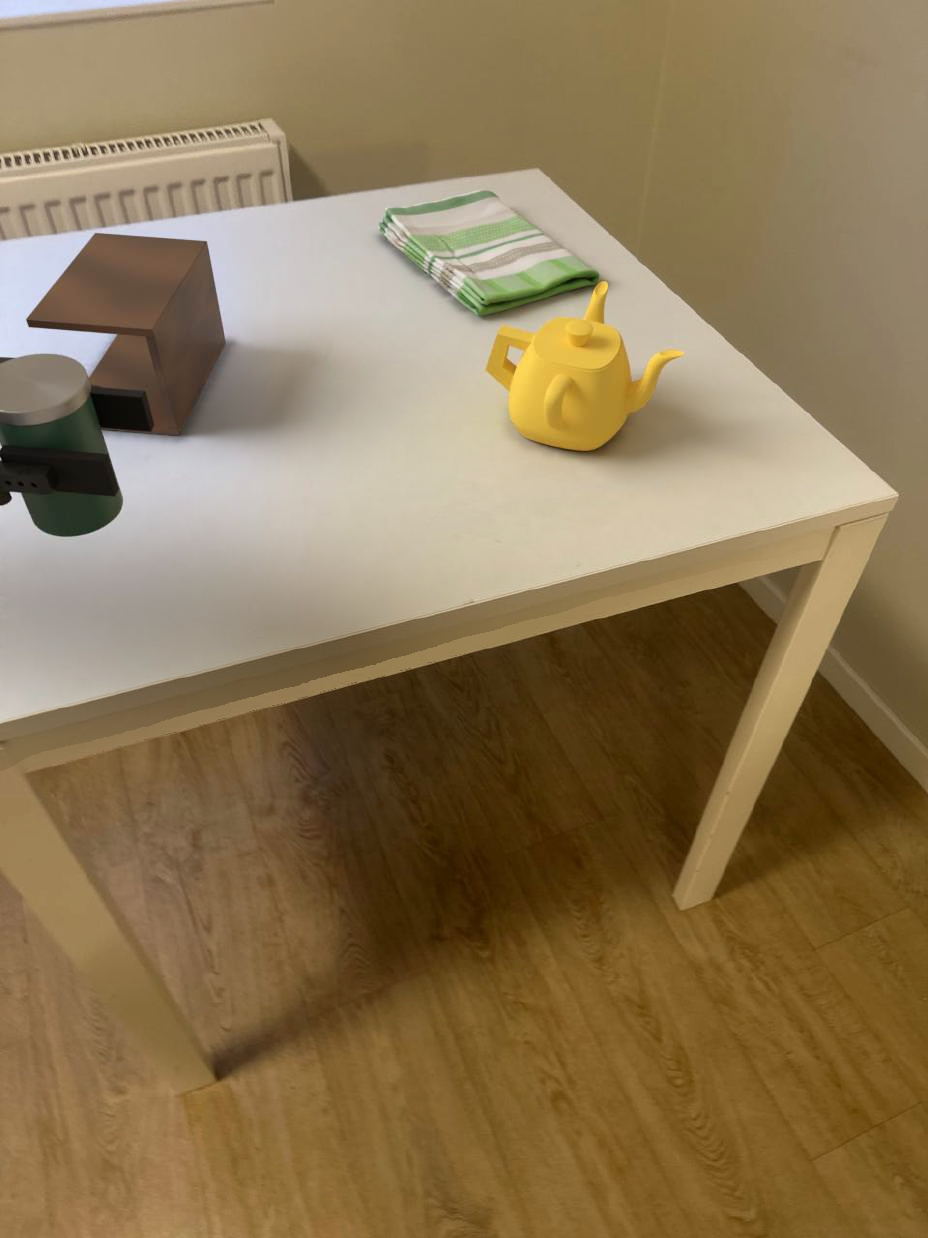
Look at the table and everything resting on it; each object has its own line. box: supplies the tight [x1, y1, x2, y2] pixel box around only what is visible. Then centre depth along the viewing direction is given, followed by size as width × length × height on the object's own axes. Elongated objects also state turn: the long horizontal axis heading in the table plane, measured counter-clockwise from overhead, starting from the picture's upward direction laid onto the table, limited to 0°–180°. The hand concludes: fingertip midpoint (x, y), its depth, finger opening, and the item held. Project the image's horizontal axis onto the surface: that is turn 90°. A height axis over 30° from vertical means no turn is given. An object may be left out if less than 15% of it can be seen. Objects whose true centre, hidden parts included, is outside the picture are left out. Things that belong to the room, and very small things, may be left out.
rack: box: [25, 232, 227, 437], centre depth 88 cm, size 16×11×11 cm
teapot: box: [484, 280, 685, 452], centre depth 86 cm, size 14×13×10 cm
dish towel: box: [377, 189, 600, 317], centre depth 109 cm, size 17×23×4 cm
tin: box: [0, 353, 124, 538], centre depth 60 cm, size 6×6×10 cm
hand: (129, 442), depth 59 cm, fingers closed on tin, 6 cm apart
